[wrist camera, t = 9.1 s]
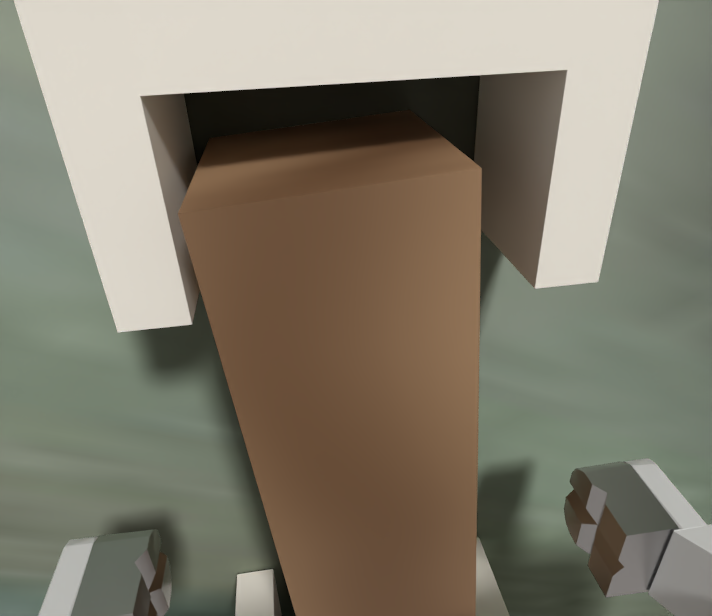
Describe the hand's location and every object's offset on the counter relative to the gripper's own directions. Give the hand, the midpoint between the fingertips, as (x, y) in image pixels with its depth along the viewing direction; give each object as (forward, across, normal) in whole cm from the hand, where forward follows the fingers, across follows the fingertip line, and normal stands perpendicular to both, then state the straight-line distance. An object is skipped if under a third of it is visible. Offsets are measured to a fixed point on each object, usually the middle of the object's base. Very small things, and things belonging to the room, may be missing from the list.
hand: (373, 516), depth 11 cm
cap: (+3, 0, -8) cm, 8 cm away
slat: (+3, 0, 0) cm, 3 cm away
